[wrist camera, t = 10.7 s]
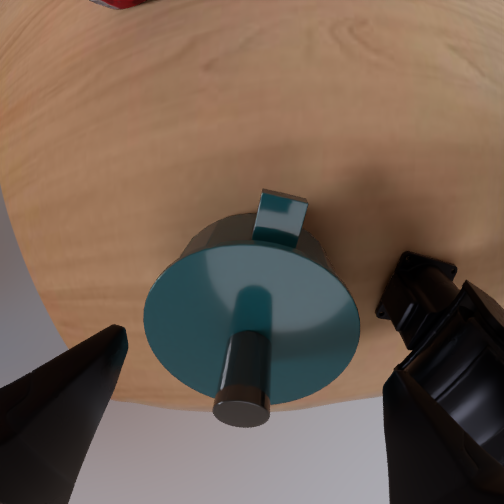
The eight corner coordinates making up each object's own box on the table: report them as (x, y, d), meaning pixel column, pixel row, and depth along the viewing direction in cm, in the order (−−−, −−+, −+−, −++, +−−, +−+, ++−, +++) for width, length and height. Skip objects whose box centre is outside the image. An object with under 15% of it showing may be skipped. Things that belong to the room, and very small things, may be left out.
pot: (367, 201, 18) (400, 232, 13) (297, 371, 26) (299, 419, 21) (192, 160, 18) (158, 176, 13) (175, 347, 26) (157, 392, 21)
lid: (390, 264, 14) (437, 335, 9) (314, 402, 20) (318, 466, 15) (151, 211, 14) (87, 266, 9) (153, 371, 20) (128, 432, 15)
